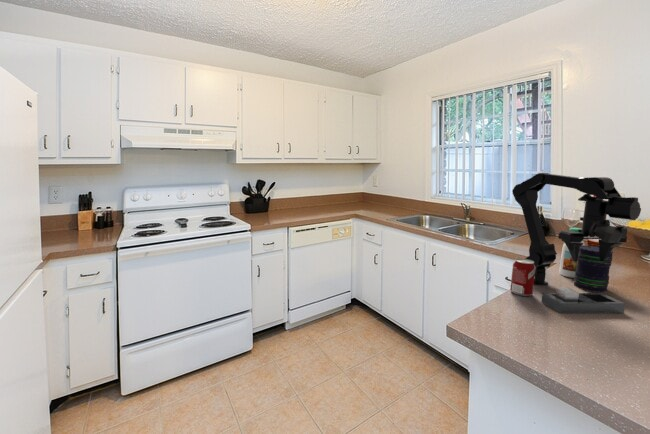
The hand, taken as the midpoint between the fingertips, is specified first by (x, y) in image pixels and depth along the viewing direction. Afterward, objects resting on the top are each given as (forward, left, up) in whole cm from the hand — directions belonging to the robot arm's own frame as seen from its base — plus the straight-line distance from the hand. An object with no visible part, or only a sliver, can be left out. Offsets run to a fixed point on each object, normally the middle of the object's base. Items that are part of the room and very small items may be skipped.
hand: (588, 261), depth 106 cm
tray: (+7, -7, -13) cm, 17 cm away
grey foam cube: (+7, -12, -12) cm, 19 cm away
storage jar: (-10, +11, -13) cm, 20 cm away
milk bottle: (-23, +14, -13) cm, 30 cm away
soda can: (-4, -19, -13) cm, 23 cm away
